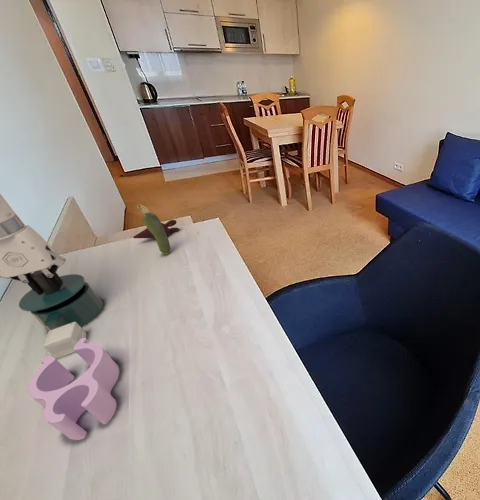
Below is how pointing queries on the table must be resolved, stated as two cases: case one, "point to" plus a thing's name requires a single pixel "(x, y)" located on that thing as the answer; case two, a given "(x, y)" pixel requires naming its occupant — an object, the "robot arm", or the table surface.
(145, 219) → the vegetable
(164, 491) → the table surface
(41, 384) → the clip
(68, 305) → the pot
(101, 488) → the table surface
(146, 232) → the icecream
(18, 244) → the robot arm
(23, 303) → the pot lid
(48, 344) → the small box
